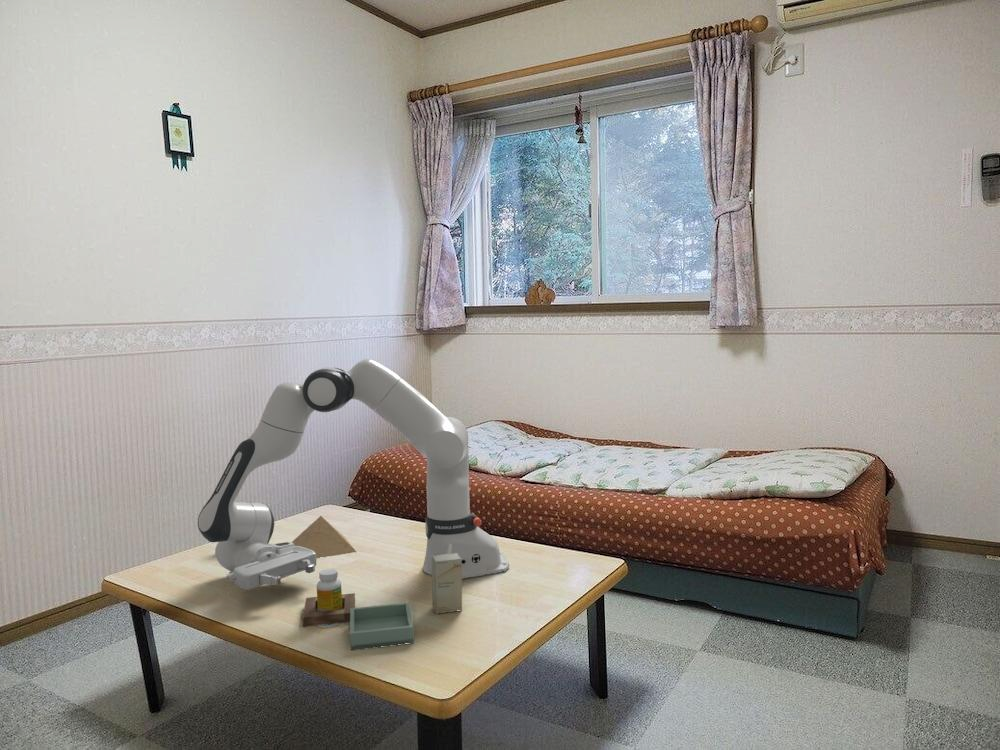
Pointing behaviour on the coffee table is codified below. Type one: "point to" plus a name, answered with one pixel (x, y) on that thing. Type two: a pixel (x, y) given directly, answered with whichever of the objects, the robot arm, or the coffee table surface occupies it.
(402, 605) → the tray
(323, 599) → the supplement bottle
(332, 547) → the model pyramid
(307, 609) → the socket block
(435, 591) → the skincare box
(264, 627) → the coffee table surface
